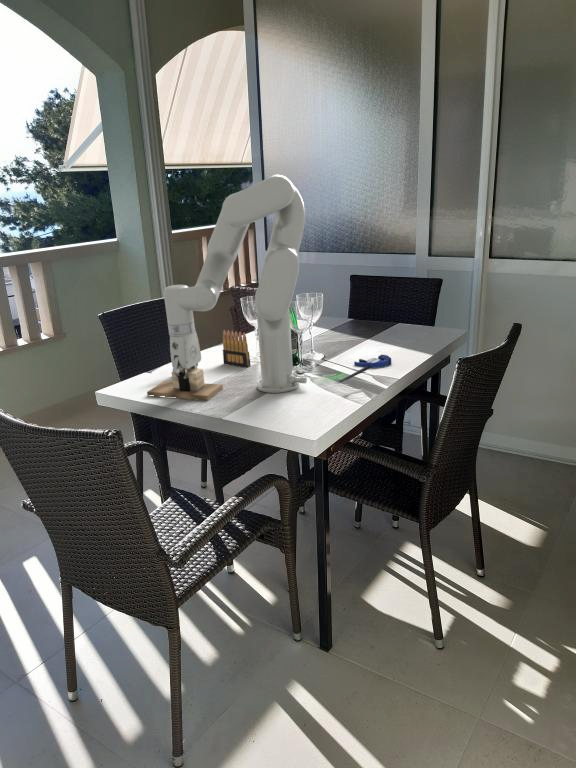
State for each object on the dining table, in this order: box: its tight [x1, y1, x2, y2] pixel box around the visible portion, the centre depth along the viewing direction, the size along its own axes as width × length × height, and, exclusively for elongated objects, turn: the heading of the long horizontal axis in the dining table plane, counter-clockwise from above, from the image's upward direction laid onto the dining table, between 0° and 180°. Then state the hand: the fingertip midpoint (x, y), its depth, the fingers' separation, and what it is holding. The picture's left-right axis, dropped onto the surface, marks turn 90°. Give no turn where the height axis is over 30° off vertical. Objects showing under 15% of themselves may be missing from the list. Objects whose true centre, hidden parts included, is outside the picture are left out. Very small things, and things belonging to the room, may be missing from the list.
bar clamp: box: [334, 354, 392, 385], centre depth 190 cm, size 32×2×10 cm
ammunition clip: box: [222, 329, 252, 369], centre depth 204 cm, size 11×2×12 cm, turn 54°
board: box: [146, 380, 224, 401], centre depth 182 cm, size 20×10×2 cm, turn 71°
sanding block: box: [171, 368, 205, 391], centre depth 180 cm, size 8×4×6 cm, turn 70°
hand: (189, 387), depth 181 cm, fingers closed on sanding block, 4 cm apart
